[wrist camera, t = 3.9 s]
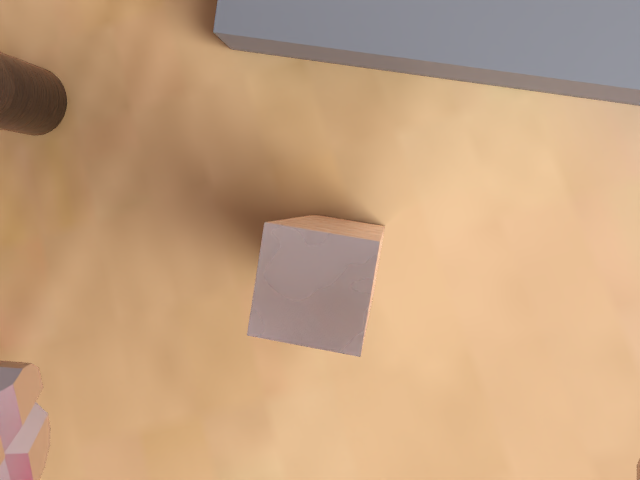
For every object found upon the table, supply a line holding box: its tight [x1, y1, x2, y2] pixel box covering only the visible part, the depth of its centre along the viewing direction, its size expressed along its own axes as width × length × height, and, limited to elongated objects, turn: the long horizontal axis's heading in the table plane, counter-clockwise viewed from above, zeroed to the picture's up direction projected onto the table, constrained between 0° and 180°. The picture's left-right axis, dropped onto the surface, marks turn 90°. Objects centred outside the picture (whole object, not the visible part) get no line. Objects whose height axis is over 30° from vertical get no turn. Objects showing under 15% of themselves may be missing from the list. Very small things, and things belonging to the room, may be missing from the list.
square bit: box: [247, 215, 385, 357], centre depth 24 cm, size 3×3×12 cm
